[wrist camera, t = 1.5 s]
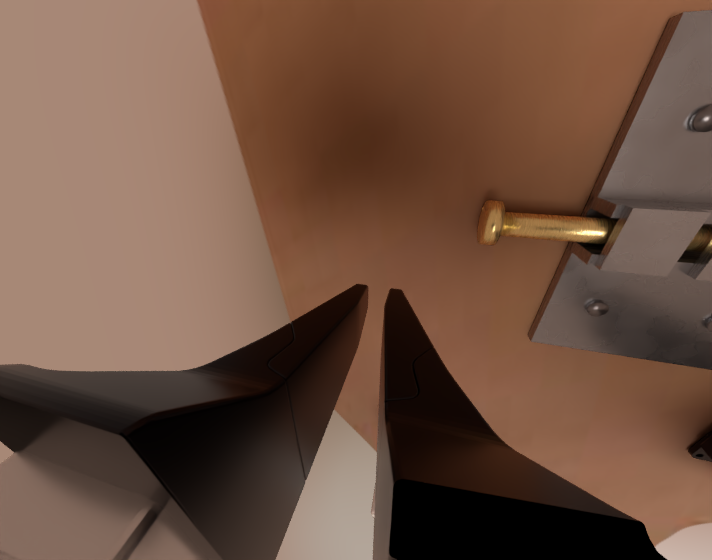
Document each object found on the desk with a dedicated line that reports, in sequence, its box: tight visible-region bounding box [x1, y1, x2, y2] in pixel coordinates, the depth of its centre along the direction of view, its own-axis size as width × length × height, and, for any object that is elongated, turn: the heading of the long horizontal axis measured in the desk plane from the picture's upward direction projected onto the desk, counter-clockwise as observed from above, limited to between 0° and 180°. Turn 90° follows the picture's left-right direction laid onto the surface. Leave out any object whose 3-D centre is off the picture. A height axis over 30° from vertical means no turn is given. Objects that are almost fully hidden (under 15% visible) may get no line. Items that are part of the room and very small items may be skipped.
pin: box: [477, 200, 712, 252], centre depth 15 cm, size 15×3×3 cm, turn 90°
